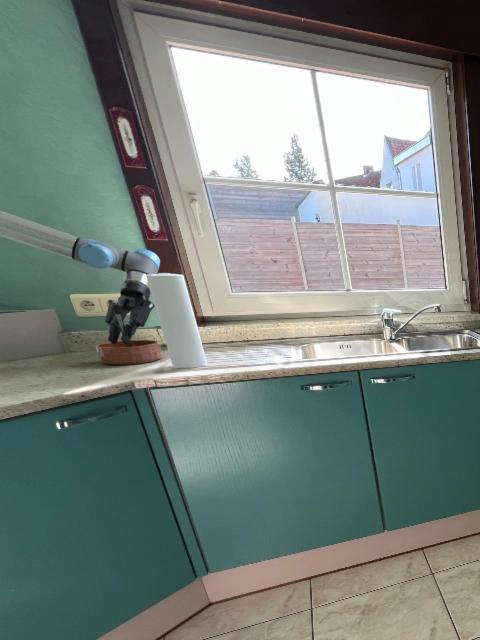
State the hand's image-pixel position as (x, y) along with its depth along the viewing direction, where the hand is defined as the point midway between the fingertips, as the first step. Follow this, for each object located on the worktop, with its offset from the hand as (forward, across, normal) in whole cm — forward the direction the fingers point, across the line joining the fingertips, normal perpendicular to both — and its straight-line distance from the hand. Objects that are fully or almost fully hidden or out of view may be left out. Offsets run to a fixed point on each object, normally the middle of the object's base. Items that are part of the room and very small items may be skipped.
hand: (118, 341), depth 167 cm
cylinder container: (+8, -23, -2) cm, 24 cm away
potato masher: (+2, 0, -7) cm, 8 cm away
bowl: (+2, 0, -8) cm, 8 cm away
